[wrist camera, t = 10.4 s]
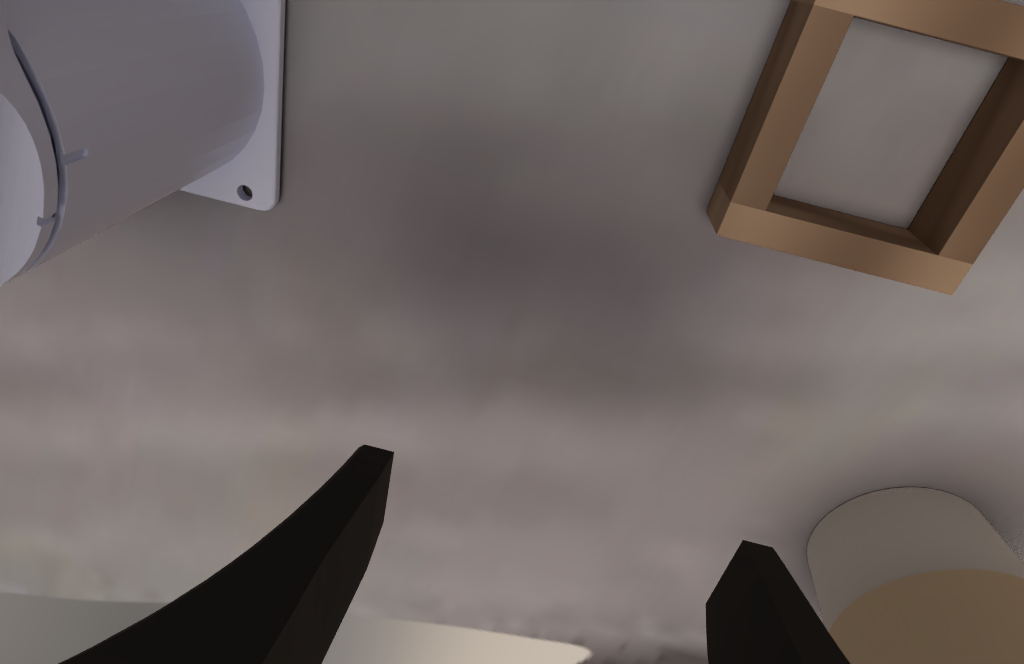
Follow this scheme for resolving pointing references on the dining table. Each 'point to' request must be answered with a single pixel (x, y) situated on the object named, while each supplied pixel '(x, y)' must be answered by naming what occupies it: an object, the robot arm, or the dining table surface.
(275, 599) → the robot arm
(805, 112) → the collar
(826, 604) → the coffee cup
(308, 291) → the dining table surface
